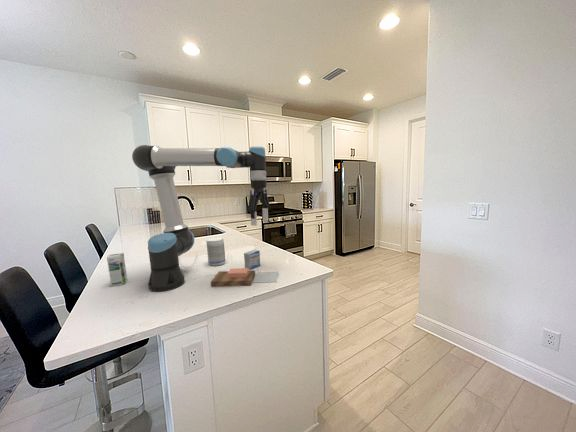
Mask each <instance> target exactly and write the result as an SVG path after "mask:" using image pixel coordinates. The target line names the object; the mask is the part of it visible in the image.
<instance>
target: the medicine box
mask: <svg viewBox="0 0 576 432" xmlns="http://www.w3.org/2000/svg"><path fill="white" fill-rule="evenodd" d="M243 258H244V268H249V271H251V270H254V269H255V268H257V267H259V266H261V253H260V250H259V249H254V250H253V249H252V250H250V251H246V252H244V253H243Z"/></svg>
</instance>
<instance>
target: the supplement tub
mask: <svg viewBox="0 0 576 432" xmlns="http://www.w3.org/2000/svg"><path fill="white" fill-rule="evenodd" d="M206 251H207V262H208V265H209V266H211V267H217V266H219V267H220V266H222V265H224V264H225V263H226V252H225V251H226V250H225V241H224V237H220V236H219V237H218V236H217V237H211V238H207V239H206Z"/></svg>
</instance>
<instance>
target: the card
mask: <svg viewBox="0 0 576 432" xmlns="http://www.w3.org/2000/svg"><path fill="white" fill-rule="evenodd" d="M228 271H229V272H228V273H227V278H230V277H247V275H248V273H249V271H250V269H249V268H245V267H244V268H230V269H229V270H228Z"/></svg>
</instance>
